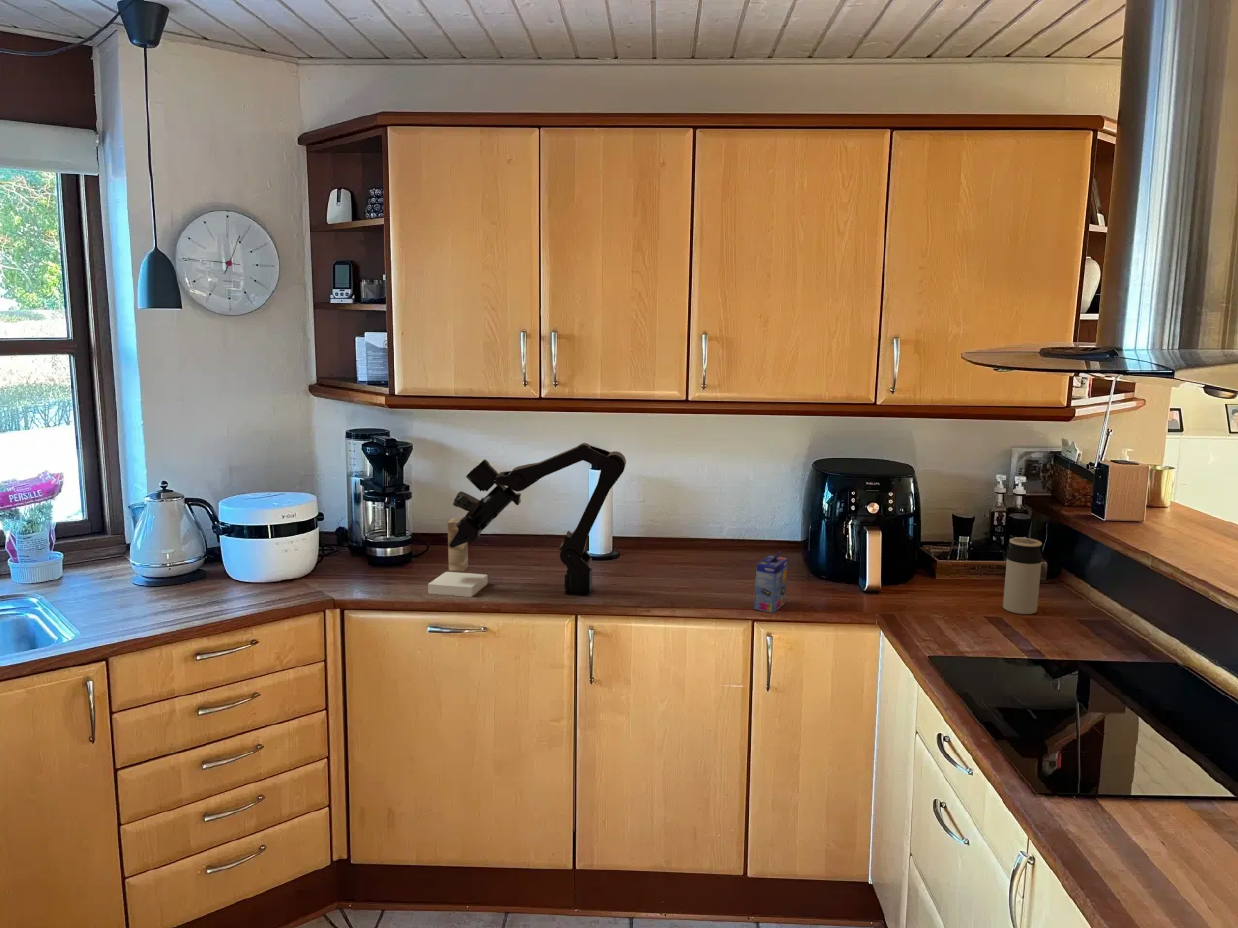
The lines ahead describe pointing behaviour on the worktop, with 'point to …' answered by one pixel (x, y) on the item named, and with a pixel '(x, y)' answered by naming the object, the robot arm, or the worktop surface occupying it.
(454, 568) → the birch block
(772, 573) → the ink cartridge box
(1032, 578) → the travel mug
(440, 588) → the cream square slab
